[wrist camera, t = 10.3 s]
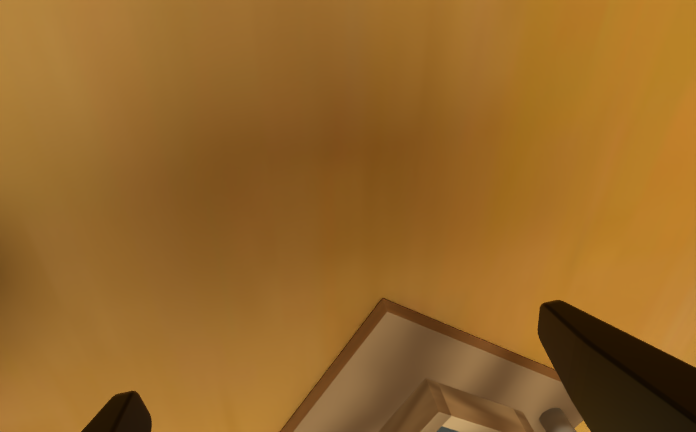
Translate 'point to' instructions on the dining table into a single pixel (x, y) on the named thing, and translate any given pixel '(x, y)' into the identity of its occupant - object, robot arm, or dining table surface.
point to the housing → (431, 383)
